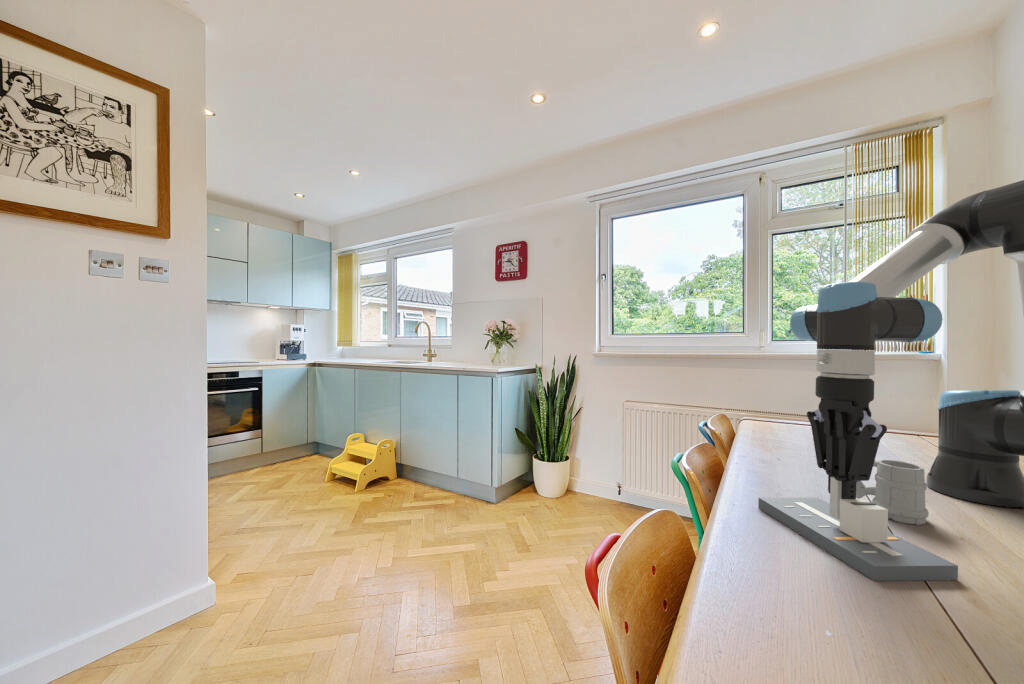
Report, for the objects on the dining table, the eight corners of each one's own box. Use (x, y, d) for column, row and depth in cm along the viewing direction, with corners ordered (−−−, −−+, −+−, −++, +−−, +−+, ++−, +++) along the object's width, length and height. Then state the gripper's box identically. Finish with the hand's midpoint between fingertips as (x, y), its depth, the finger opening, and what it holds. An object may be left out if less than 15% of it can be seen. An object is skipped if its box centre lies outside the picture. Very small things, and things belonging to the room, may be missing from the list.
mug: (918, 529, 71) (920, 461, 71) (839, 504, 81) (840, 445, 81) (935, 520, 74) (937, 456, 74) (857, 498, 85) (858, 441, 85)
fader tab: (863, 529, 65) (863, 497, 65) (887, 542, 61) (888, 508, 61) (839, 530, 65) (840, 497, 65) (862, 542, 61) (862, 508, 61)
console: (817, 507, 79) (817, 497, 79) (957, 580, 55) (958, 564, 55) (758, 507, 79) (758, 496, 79) (874, 580, 55) (874, 565, 55)
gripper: (793, 372, 73) (790, 501, 73) (857, 379, 60) (854, 536, 60) (833, 373, 73) (830, 501, 73) (905, 380, 60) (902, 536, 60)
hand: (841, 517), depth 67 cm, fingers closed
